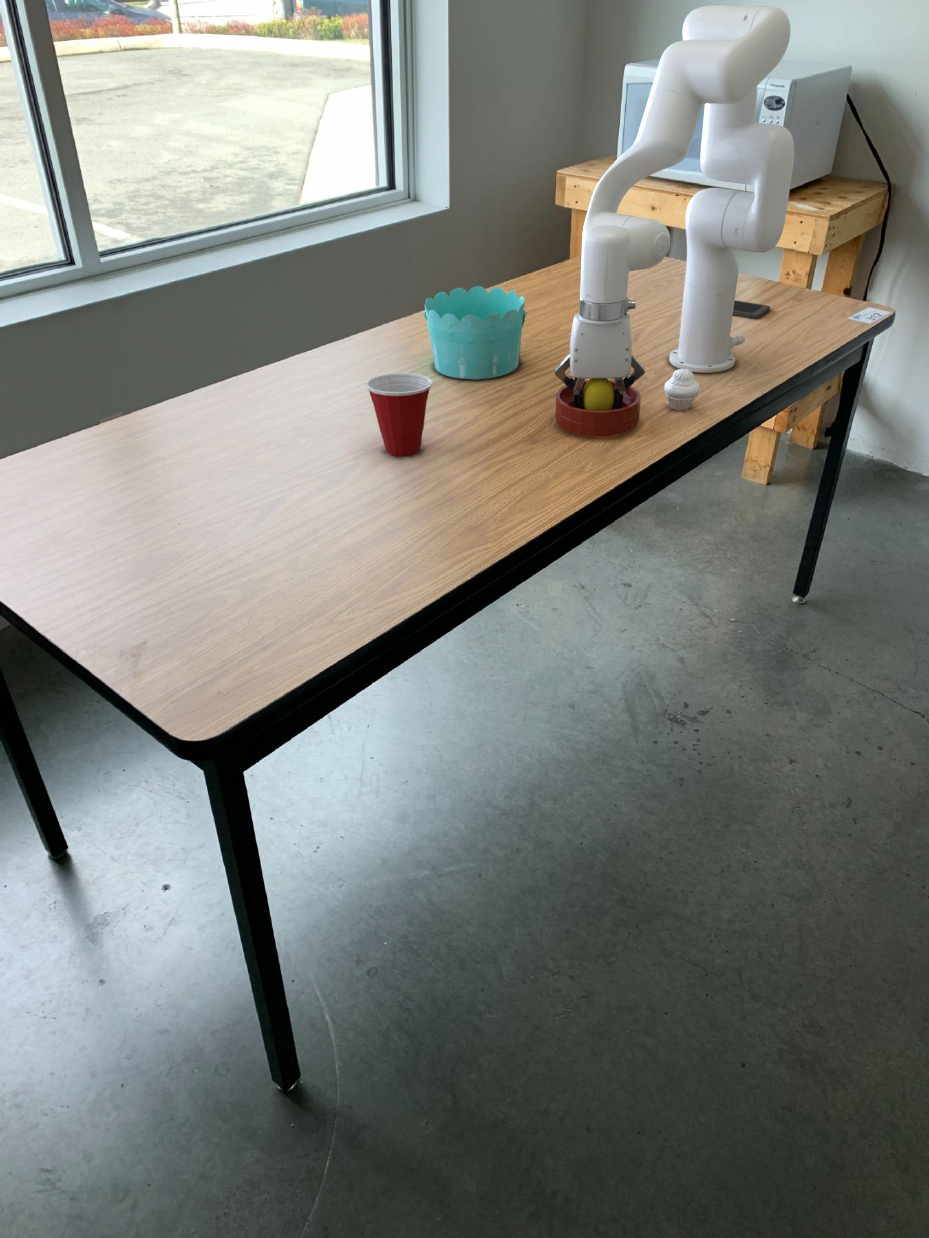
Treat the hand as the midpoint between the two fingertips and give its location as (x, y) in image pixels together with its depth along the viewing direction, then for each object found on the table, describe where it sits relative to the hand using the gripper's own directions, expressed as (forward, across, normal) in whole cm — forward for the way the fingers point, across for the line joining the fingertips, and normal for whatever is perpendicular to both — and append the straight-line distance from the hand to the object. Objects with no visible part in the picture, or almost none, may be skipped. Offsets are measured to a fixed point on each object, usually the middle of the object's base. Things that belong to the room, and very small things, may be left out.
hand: (597, 412), depth 167 cm
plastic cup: (+2, +33, +10) cm, 34 cm away
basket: (+2, +22, -29) cm, 36 cm away
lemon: (+1, 0, 0) cm, 1 cm away
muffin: (+2, -15, -6) cm, 17 cm away
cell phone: (+2, -35, -60) cm, 70 cm away
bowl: (+2, 0, 0) cm, 2 cm away
